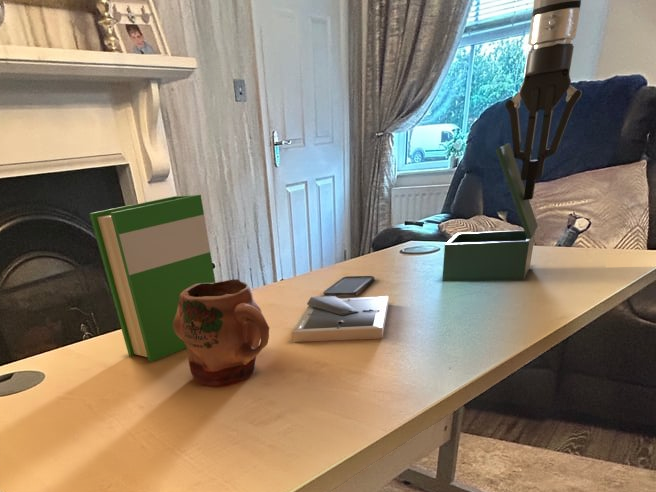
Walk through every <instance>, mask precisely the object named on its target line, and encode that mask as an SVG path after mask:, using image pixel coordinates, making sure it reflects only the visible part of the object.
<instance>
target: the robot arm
mask: <svg viewBox="0 0 656 492" xmlns="http://www.w3.org/2000/svg"><path fill="white" fill-rule="evenodd" d="M581 5H582V0H533V7H532V13H531V19H530V28H529V35H528V43H527V46H528V47H529V48H530V50H528V52H527V53H526V59H525V66H524V73H523V81H522V84H521V85H520V87H519V90H518V93H517V94H515V95H514V96H513V97H512V98H511V99H508V100H507V101H506V102H505V108H506V110H507V112H508V114H509V117H510V119H509V120H510V129H511V141H512V152H513V155H514V158H515V159H518V160H520V161H522V165H521V173H520V175H521V180H522V181H525V186H524V187H525V194H524V200H529V201H530V200H531V201H532V200H533V198H534V193H535V186H536V180H541V179H542V177H543V173H544V167H545V161H546V159H547V158H548V157H552V156H553V155H554V154H555V153H556V152H557V150H558V147H559V145H560V143H561V140H562V138H563V135H564V132H565V130H566V127H567V124H568V122H569V119H570V116H571V114H572V111H573V109H574V106H575V105H576V103H577V102H578V101H579V100H580V98H581V96H582V94H583V93H582V90H580V89H577V88H575V87H574V86H573V85H571V84H572V79H571V76H570V73H571V65H572V59H573V54H574V48H575V47H574V46H575V45H574V44H573V43H571V42H572V40H573V41H574V39H575V38H576V36H577V35H576V34H577V28H578V24H579V20H580V19H579V18H580V12H581ZM565 94H566V97H565V101H566V104H565V107H564V109H563V112H562V114H561V118H560V120H559V122H558V125H557V128H556V130H555V133H554V135H553V138H552V142H551V144H550V146H549V148H548V144H549V137H550V130H551V123H552V117H553V112H554V108H555V107H556V106H557V105H558V104H559V102H560V101H561V100H562V98H563V97H564V95H565ZM521 101H522V103H523V104H524V106H525V107H526V110H527V111H528V120H527V129H526V135H525V142H524V151H523V150H522V137H521V124H520V114H519V108H520V107H521ZM539 111H543V118H542V126H541V133H540V138H539V146H538V151H537V159H531V158H532V154H533V148H534V141H535V134H536V126H537V120H538V114H539Z"/></svg>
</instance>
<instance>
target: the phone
mask: <svg viewBox="0 0 656 492" xmlns="http://www.w3.org/2000/svg"><path fill="white" fill-rule="evenodd" d="M374 282H375V276H374V275H348V276H347V275H346V276H343V277H341V278H340V279H339V280H338V281H336V282H335V283H334V284H332V285H331V286H329V287H328V288H326V289H325V290H323V297H326V296H335V297H337V298H356V297H358V296H359V295H360V294H361V293H362V292H363V291H364V290H366V289H367V288H368V287H369V286H371V284H373V283H374Z"/></svg>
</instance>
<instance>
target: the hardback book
mask: <svg viewBox="0 0 656 492" xmlns="http://www.w3.org/2000/svg"><path fill="white" fill-rule="evenodd" d="M203 206H204V205H203V200H202V195H201V194H190V195H189V194H188V195H174V196H169V197H164V198H159V199H154V200H149V201H144V202H140V203H134V204H130V205H129V204H128V205H124V206H119V207H115V208H110V209H105V210H100V211H95V212H89V218H90V221H91V225H92V228H93V232H94V235H95V239H96V242H97V247H98V249H99V254H100V257H101V260H102V264H103V268H104V271H105V275H106V278H107V282H108V286H109V289H110V293H111V296H112V301H113V304H114V308H115V309H116V310H115V311H116V314H117V319H118V321H119V325H120V328H121V329H120V330H121V332H122V336H123V339H124V343H125V347H126V350H127V354H128V356H129V357H134V356H141V357H144V358H147V361H148V362H149V363H153V362H155V361H157V360H161V359H163V358H166V357H168V356H170V355H173V354H175V353H178V352H181V351H183V350H185V349H187V347H186V344H185V343H184V341H183V340H182V339H181V338H179V337H178V335H177V334H176V332H175V330H174V327H173V322H174V318H175V316H176V313H177V309H178V303H179V296H180V294H181V293H182V291H184V290H185V289H187V288H189V287H191V286H192V285H195V284H202V283H215V282H216V278H215V272H214V265H213V261H212V254H211V248H210V244H209V236H208V229H207V224H206V218H205V211H204V207H203Z"/></svg>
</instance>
